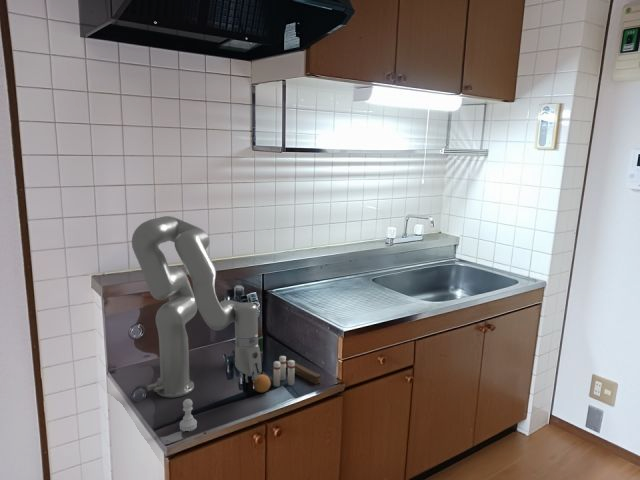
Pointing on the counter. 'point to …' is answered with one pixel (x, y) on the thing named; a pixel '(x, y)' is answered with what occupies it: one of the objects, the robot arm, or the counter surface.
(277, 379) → the front pin
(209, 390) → the counter surface
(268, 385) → the ball
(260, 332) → the beer bottle
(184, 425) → the chess pawn
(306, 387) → the counter surface
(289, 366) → the pin
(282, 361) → the pin
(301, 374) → the back rail
